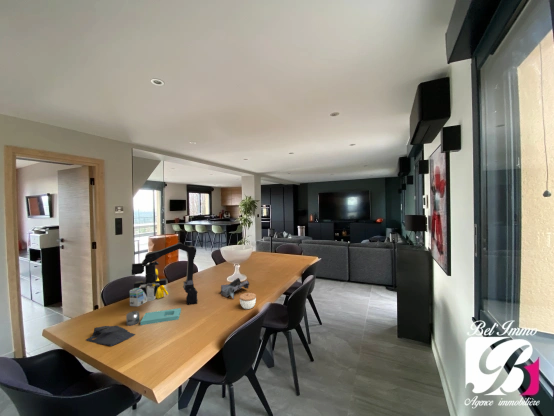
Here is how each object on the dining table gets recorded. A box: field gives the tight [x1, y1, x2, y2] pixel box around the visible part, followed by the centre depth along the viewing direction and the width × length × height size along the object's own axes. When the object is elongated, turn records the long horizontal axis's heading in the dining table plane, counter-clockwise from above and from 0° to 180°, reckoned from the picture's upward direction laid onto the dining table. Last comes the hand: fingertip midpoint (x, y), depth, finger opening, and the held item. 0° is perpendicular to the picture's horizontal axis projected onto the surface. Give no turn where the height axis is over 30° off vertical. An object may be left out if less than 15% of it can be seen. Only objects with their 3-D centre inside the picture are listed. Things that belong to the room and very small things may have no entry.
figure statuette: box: [151, 268, 169, 300], centre depth 169 cm, size 18×8×22 cm, turn 62°
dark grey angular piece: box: [220, 277, 250, 300], centre depth 173 cm, size 18×20×9 cm
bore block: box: [139, 307, 182, 326], centre depth 137 cm, size 20×11×2 cm, turn 106°
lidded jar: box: [239, 292, 257, 310], centre depth 148 cm, size 11×11×9 cm
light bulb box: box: [129, 285, 150, 307], centre depth 160 cm, size 11×7×11 cm, turn 168°
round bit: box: [125, 310, 141, 327], centre depth 131 cm, size 6×6×6 cm
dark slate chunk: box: [85, 325, 136, 347], centre depth 118 cm, size 15×22×5 cm
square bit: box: [147, 285, 157, 302], centre depth 146 cm, size 4×4×8 cm
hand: (151, 296), depth 146 cm, fingers closed on square bit, 4 cm apart
